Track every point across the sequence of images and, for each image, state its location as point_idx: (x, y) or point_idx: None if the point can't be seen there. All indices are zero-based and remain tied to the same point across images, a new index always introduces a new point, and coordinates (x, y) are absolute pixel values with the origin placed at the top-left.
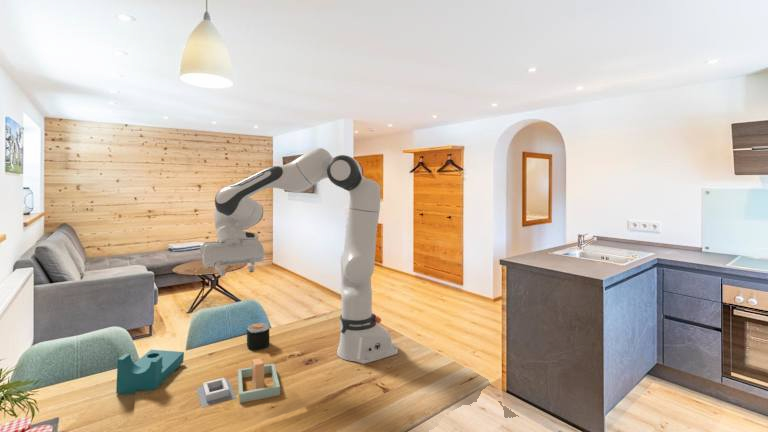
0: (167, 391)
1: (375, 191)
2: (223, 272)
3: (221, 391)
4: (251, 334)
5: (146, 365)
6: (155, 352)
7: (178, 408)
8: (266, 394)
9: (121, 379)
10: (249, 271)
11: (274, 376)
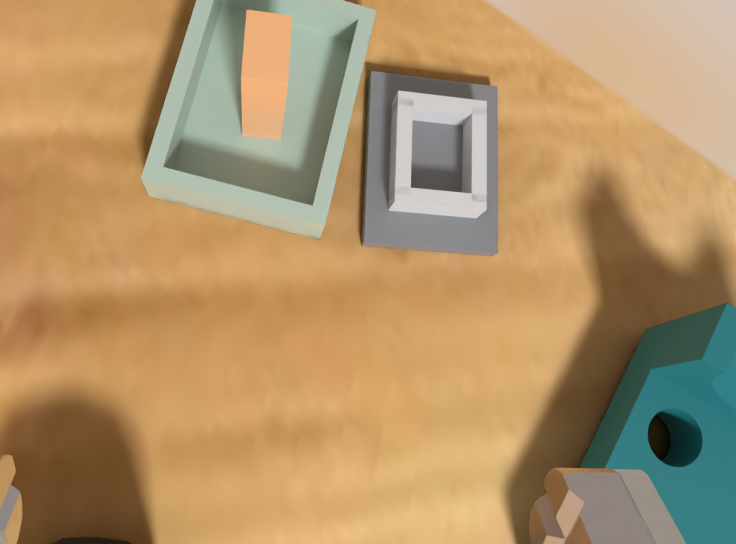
0: (595, 319)
1: None
2: (595, 476)
3: (428, 95)
4: None
5: (721, 483)
6: None
7: (562, 162)
8: None
9: None
10: (11, 531)
11: (194, 52)
